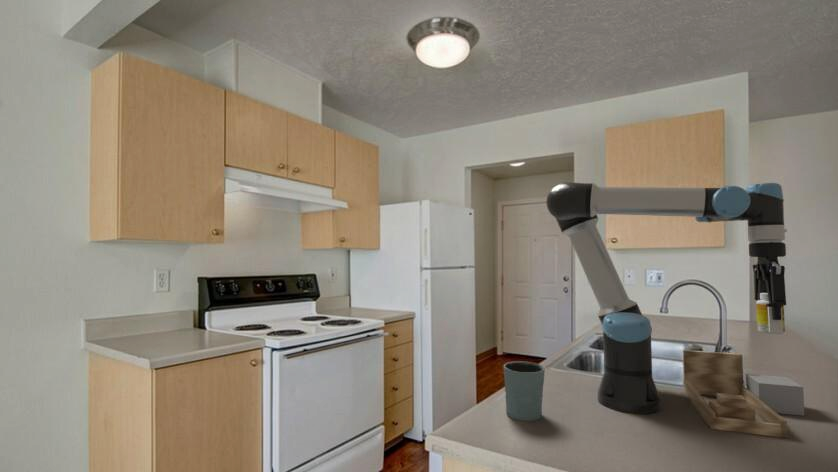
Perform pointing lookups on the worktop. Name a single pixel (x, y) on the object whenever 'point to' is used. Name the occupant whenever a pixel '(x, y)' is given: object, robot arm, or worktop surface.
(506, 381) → the grey-green cup
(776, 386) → the stone plinth
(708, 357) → the light wood open box
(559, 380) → the worktop surface
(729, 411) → the offcut slab top
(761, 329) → the supplement bottle
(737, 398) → the offcut block
